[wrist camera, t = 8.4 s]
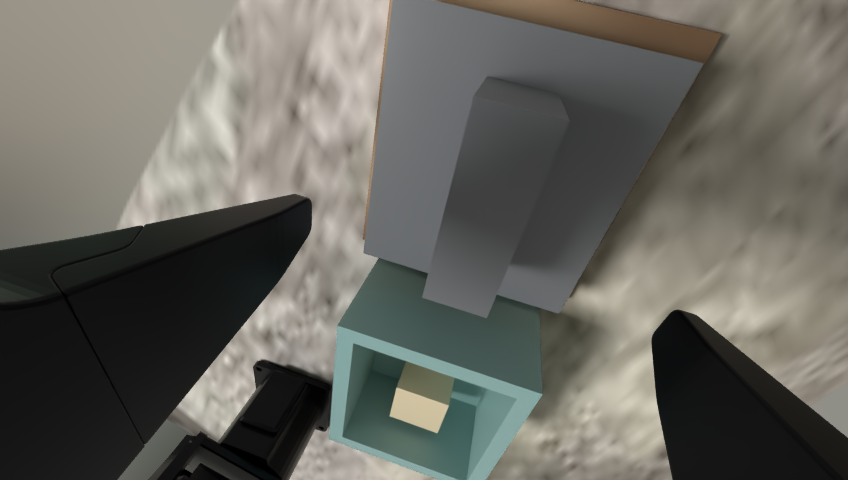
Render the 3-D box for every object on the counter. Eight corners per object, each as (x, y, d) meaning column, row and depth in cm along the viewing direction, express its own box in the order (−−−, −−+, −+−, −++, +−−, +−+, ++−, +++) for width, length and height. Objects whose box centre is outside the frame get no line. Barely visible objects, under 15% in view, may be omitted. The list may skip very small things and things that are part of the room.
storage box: (485, 405, 25) (476, 493, 20) (364, 364, 25) (328, 439, 21) (539, 304, 19) (542, 394, 14) (380, 255, 20) (337, 325, 15)
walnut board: (565, 296, 18) (566, 301, 18) (365, 235, 19) (362, 239, 19) (717, 33, 12) (722, 33, 11) (397, -39, 13) (394, -41, 12)
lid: (555, 286, 18) (565, 379, 13) (377, 232, 19) (329, 301, 14) (679, 56, 12) (773, 81, 7) (410, -6, 13) (346, -18, 8)
